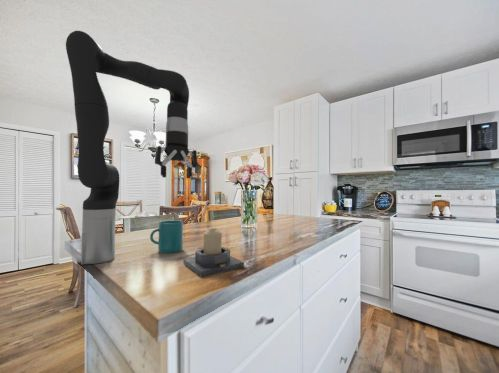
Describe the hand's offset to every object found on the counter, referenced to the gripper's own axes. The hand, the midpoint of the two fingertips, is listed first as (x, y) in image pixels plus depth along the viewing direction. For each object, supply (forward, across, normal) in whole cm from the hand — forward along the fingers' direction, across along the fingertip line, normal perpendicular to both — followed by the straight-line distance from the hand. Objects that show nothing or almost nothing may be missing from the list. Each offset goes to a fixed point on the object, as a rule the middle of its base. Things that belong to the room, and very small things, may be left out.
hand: (176, 177), depth 78 cm
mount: (+28, -7, +15) cm, 33 cm away
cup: (+28, 0, -11) cm, 30 cm away
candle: (+27, -7, +15) cm, 31 cm away
